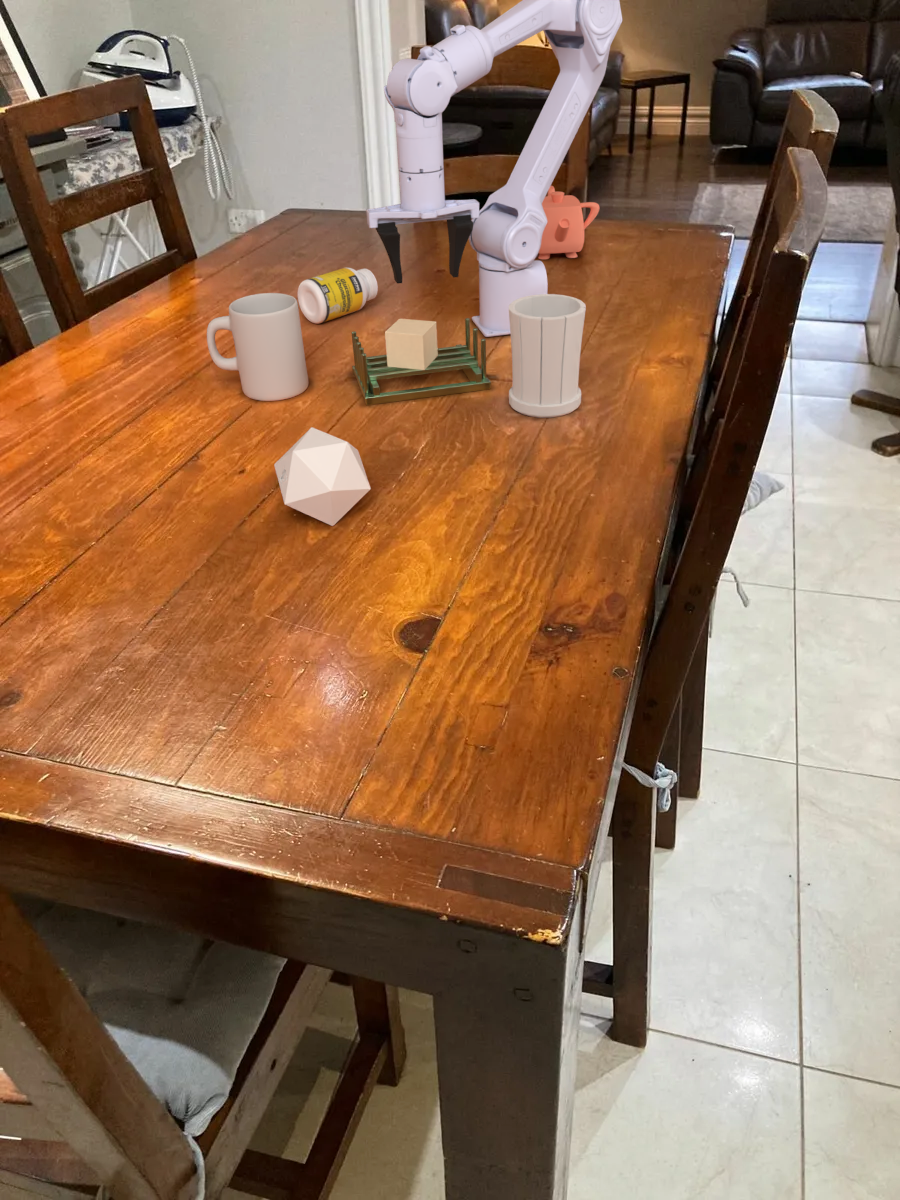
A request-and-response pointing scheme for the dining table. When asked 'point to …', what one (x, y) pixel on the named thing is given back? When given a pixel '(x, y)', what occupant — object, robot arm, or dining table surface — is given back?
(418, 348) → the box
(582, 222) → the teapot
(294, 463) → the die
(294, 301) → the mug
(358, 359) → the dish rack
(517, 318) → the cup
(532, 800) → the dining table surface
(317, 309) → the pill bottle
